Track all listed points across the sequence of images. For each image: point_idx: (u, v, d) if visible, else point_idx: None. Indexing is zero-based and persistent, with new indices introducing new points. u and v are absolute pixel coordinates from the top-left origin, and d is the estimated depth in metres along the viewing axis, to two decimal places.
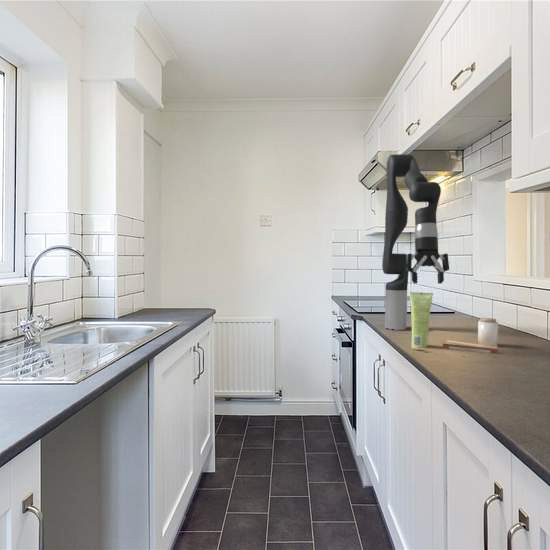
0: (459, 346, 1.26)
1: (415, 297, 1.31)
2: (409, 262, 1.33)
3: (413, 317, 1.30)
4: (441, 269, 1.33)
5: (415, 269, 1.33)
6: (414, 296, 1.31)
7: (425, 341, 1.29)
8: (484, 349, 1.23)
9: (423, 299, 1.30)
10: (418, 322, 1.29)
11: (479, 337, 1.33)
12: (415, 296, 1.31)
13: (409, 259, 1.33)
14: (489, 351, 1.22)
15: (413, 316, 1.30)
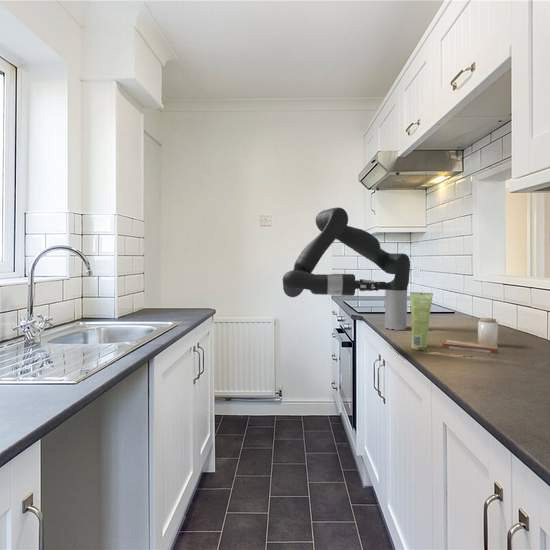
0: (459, 346, 1.26)
1: (415, 297, 1.31)
2: None
3: (413, 317, 1.30)
4: None
5: None
6: (414, 296, 1.31)
7: (425, 341, 1.29)
8: (484, 349, 1.23)
9: (423, 299, 1.30)
10: (418, 322, 1.29)
11: (479, 337, 1.33)
12: (415, 296, 1.31)
13: None
14: (489, 351, 1.22)
15: (413, 316, 1.30)
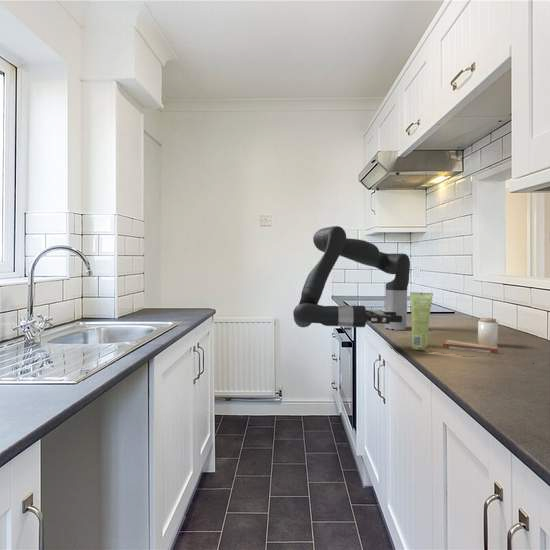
0: (459, 346, 1.26)
1: (415, 297, 1.31)
2: None
3: (413, 317, 1.30)
4: None
5: None
6: (414, 296, 1.31)
7: (425, 341, 1.29)
8: (484, 349, 1.23)
9: (423, 299, 1.30)
10: (418, 322, 1.29)
11: (479, 337, 1.33)
12: (415, 296, 1.31)
13: None
14: (489, 351, 1.22)
15: (413, 316, 1.30)
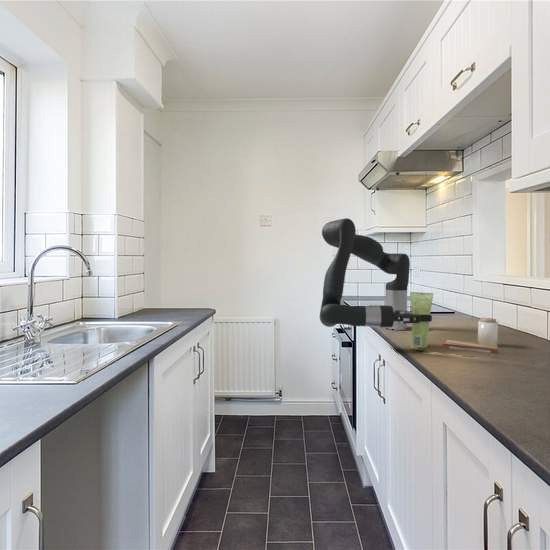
0: (459, 346, 1.26)
1: (415, 297, 1.30)
2: None
3: None
4: None
5: None
6: (414, 296, 1.31)
7: (425, 341, 1.29)
8: (484, 349, 1.23)
9: (423, 299, 1.30)
10: None
11: (479, 337, 1.33)
12: (415, 296, 1.31)
13: None
14: (489, 351, 1.22)
15: None
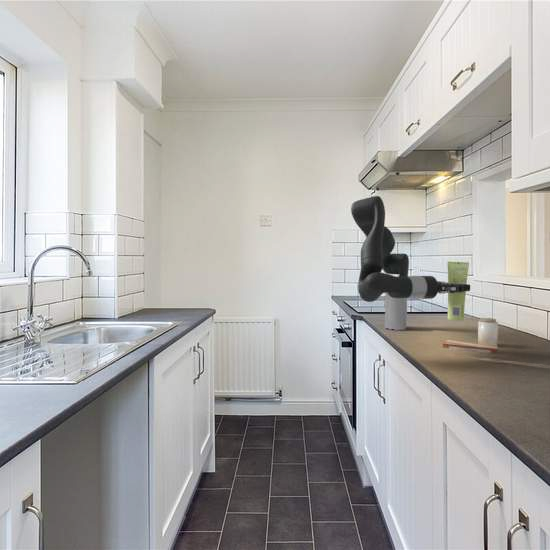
0: (459, 346, 1.26)
1: (453, 267, 1.27)
2: None
3: None
4: None
5: None
6: (452, 266, 1.27)
7: (463, 311, 1.26)
8: (484, 349, 1.23)
9: (461, 269, 1.27)
10: (457, 292, 1.26)
11: (479, 337, 1.33)
12: (453, 266, 1.27)
13: None
14: (489, 351, 1.22)
15: None
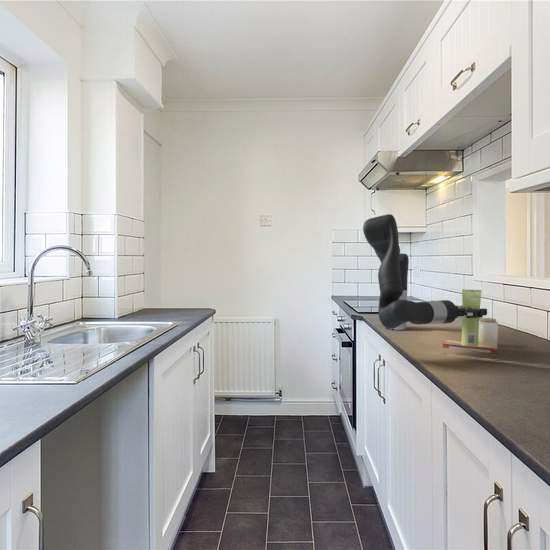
0: (459, 346, 1.26)
1: (468, 294, 1.28)
2: None
3: None
4: None
5: None
6: (467, 293, 1.28)
7: (477, 339, 1.27)
8: (484, 349, 1.23)
9: (474, 296, 1.28)
10: (472, 320, 1.27)
11: (479, 337, 1.33)
12: (467, 293, 1.28)
13: None
14: (489, 351, 1.22)
15: None
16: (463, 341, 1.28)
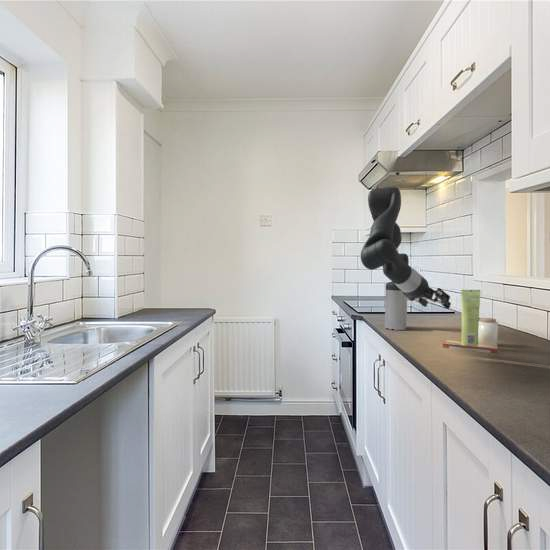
0: (459, 346, 1.26)
1: (467, 294, 1.28)
2: (407, 297, 1.31)
3: (466, 315, 1.27)
4: (440, 302, 1.23)
5: (416, 300, 1.30)
6: (466, 294, 1.28)
7: (477, 339, 1.27)
8: (484, 349, 1.23)
9: (474, 296, 1.28)
10: (472, 320, 1.27)
11: (479, 337, 1.33)
12: (466, 293, 1.28)
13: (406, 295, 1.30)
14: (489, 351, 1.22)
15: (466, 314, 1.27)
16: (463, 341, 1.28)
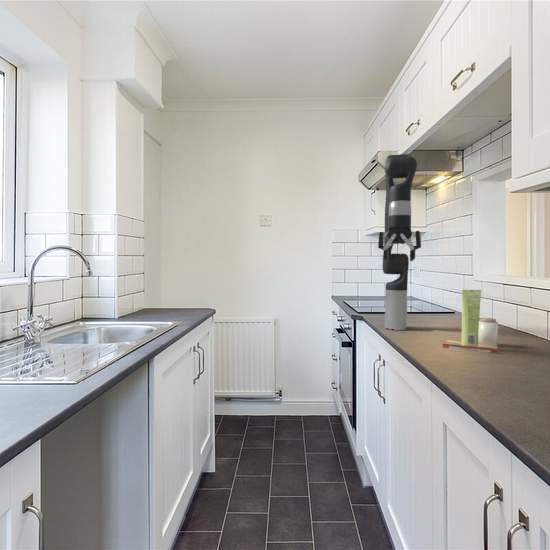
0: (459, 346, 1.26)
1: (467, 295, 1.27)
2: (380, 240, 1.38)
3: (466, 315, 1.27)
4: (411, 247, 1.32)
5: (385, 247, 1.37)
6: (466, 294, 1.27)
7: (477, 339, 1.27)
8: (484, 349, 1.23)
9: (474, 296, 1.28)
10: (472, 320, 1.26)
11: (479, 337, 1.33)
12: (467, 294, 1.27)
13: (380, 237, 1.38)
14: (489, 351, 1.22)
15: (466, 314, 1.27)
16: (463, 341, 1.28)
